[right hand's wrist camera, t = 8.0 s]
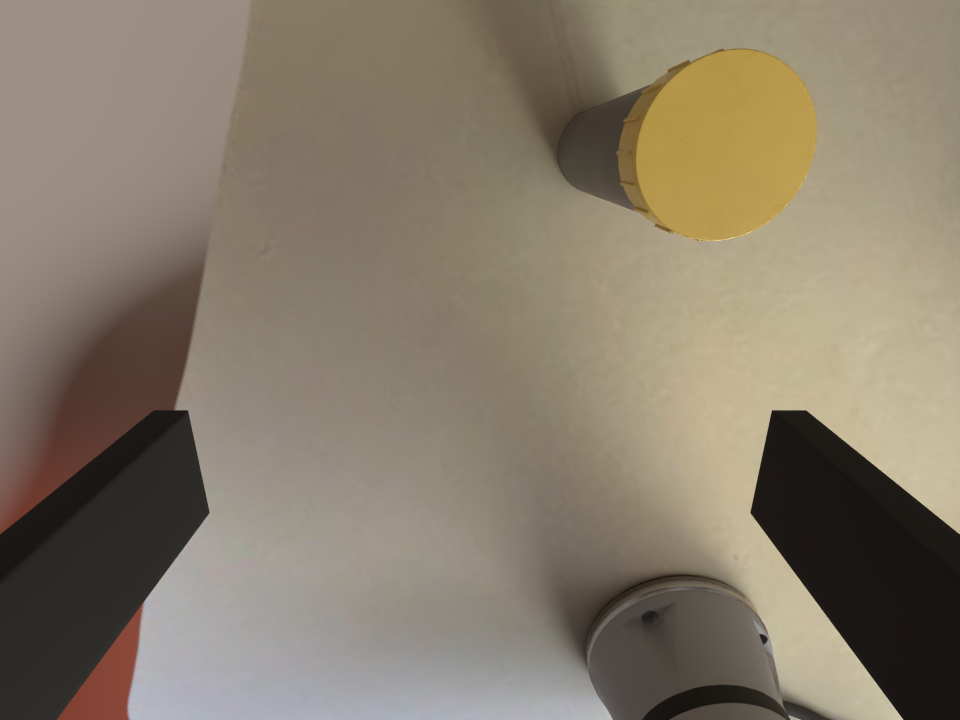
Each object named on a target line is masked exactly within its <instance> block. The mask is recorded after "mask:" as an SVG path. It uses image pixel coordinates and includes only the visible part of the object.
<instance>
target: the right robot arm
mask: <svg viewBox="0 0 960 720" xmlns="http://www.w3.org/2000/svg"><path fill="white" fill-rule="evenodd" d="M208 514H209V508H208V503H207V499H206V494H205V489H204V484H203V480H202V475H201V470H200V465H199V461H198V456H197V451H196V446H195V442H194V437H193V432H192V427H191V423H190V418H189V413H188V410H172V411H171V410H170V411H168V410H166V411H164V410H163V411H161V410H160V411H159V410H158V411H157V410H156V411H153V412H151V413H150V414H149V415H148V416H146V417H145V418H144V419H143V420H142V421H140V422H139V423H138V424H137V425H135V426H134V427H133V428H132V429H130V430H129V431H128V432H127V433H126V434H124V435H123V436H122V437H120V438H119V439H118V440H117V441H116V442H114V443H113V444H112V445H111V446H109V447H108V448H107V449H106V450H104V451H103V452H102V453H101V454H99V455H98V456H97V457H96V458H94V459H93V460H92V461H91V462H90V463H88V464H87V465H86V466H85V467H83V468H82V469H81V470H80V471H78V472H77V473H76V474H75V475H73V476H72V477H71V478H70V479H68V480H67V481H66V482H65V483H64V484H62V485H61V486H60V487H59V488H57V489H56V490H55V491H54V492H52V493H51V494H50V495H49V496H47V497H46V498H45V499H44V500H42V501H41V502H40V503H39V504H38V505H36V506H35V507H34V508H33V509H31V510H30V511H29V512H28V513H26V514H25V515H24V516H23V517H21V518H20V519H19V520H18V521H16V522H15V523H14V524H13V525H12V526H10V527H9V528H8V529H7V530H5V531H4V532H3V533H2V534H0V720H57V718H58V717H59V716H60V714H61V713H62V712H63V710H64V709H65V708H66V706H67V705H68V703H69V702H70V701H71V699H72V698H73V697H74V695H75V694H76V693H77V691H78V690H79V689H80V687H81V686H82V685H83V683H84V682H85V680H86V679H87V678H88V676H89V675H90V674H91V672H92V671H93V670H94V668H95V667H96V666H97V664H98V663H99V662H100V660H101V659H102V657H103V656H104V655H105V653H106V652H107V651H108V649H109V648H110V647H111V645H112V644H113V643H114V641H115V640H116V639H117V637H118V636H119V634H120V633H121V632H122V630H123V629H124V628H125V626H126V625H127V624H128V622H129V621H130V620H131V618H132V617H133V616H134V614H135V613H136V612H137V610H138V609H139V607H140V606H141V605H142V603H143V602H144V601H145V599H146V598H147V597H148V595H149V594H150V593H151V591H152V590H153V589H154V587H155V586H156V585H157V583H158V582H159V580H160V579H161V578H162V576H163V575H164V574H165V572H166V571H167V570H168V568H169V567H170V566H171V564H172V563H173V562H174V560H175V559H176V557H177V556H178V555H179V553H180V552H181V551H182V549H183V548H184V547H185V545H186V544H187V543H188V541H189V540H190V539H191V537H192V536H193V534H194V533H195V532H196V530H197V529H198V528H199V526H200V525H201V524H202V522H203V521H204V520H205V518H206V517H207V516H208ZM751 514H752V516H753V517H754V518H755V520H756V521H757V522H758V524H759V525H760V526H761V528H762V529H763V530H764V532H765V533H766V534H767V536H768V537H769V539H770V540H771V541H772V543H773V544H774V545H775V547H776V548H777V549H778V551H779V552H780V553H781V555H782V556H783V557H784V559H785V560H786V562H787V563H788V564H789V566H790V567H791V568H792V570H793V571H794V572H795V574H796V575H797V576H798V578H799V579H800V580H801V582H802V583H803V585H804V586H805V587H806V589H807V590H808V591H809V593H810V594H811V595H812V597H813V598H814V599H815V601H816V602H817V603H818V605H819V606H820V607H821V609H822V610H823V612H824V613H825V614H826V616H827V617H828V618H829V620H830V621H831V622H832V624H833V625H834V626H835V628H836V629H837V630H838V632H839V633H840V635H841V636H842V637H843V639H844V640H845V641H846V643H847V644H848V645H849V647H850V648H851V649H852V651H853V652H854V653H855V655H856V656H857V658H858V659H859V660H860V662H861V663H862V664H863V666H864V667H865V668H866V670H867V671H868V672H869V674H870V675H871V676H872V678H873V679H874V681H875V682H876V683H877V685H878V686H879V687H880V689H881V690H882V691H883V693H884V694H885V695H886V697H887V698H888V699H889V701H890V702H891V703H892V705H893V706H894V708H895V709H896V710H897V712H898V713H899V714H900V716H901V717H902V718H903V720H960V534H958V533H957V532H956V531H955V530H953V529H952V528H951V527H950V526H948V525H947V524H946V523H945V522H944V521H942V520H941V519H940V518H939V517H937V516H936V515H935V514H934V513H932V512H931V511H930V510H929V509H927V508H926V507H925V506H924V505H922V504H921V503H920V502H919V501H918V500H916V499H915V498H914V497H913V496H911V495H910V494H909V493H908V492H906V491H905V490H904V489H903V488H901V487H900V486H899V485H898V484H896V483H895V482H894V481H893V480H892V479H890V478H889V477H888V476H887V475H885V474H884V473H883V472H882V471H880V470H879V469H878V468H877V467H875V466H874V465H873V464H872V463H870V462H869V461H868V460H867V459H866V458H864V457H863V456H862V455H861V454H859V453H858V452H857V451H856V450H854V449H853V448H852V447H851V446H849V445H848V444H847V443H846V442H844V441H843V440H842V439H841V438H840V437H838V436H837V435H836V434H835V433H833V432H832V431H831V430H830V429H828V428H827V427H826V426H825V425H823V424H822V423H821V422H820V421H818V420H817V419H816V418H815V417H814V416H812V415H811V414H810V413H809V412H807V411H806V410H772V413H771V418H770V423H769V427H768V432H767V437H766V442H765V446H764V451H763V456H762V461H761V465H760V470H759V475H758V480H757V484H756V489H755V494H754V499H753V503H752V508H751ZM586 659H587V664H588V669H589V674H590V678H591V681H592V684H593V686H594V688H595V690H596V693H597V694H598V696H599V698H600V699H601V701H602V702H603V703H604V705H605V706H606V708H607V709H608V711H609V713H610V715H611V717H612V718H613V720H790V718H789V717H788V715H790V716H793V717H796V718H798V719H801V720H827V719H825V718H823V717H821V716H819V715H817V714H815V713H813V712H811V711H809V710H807V709H804V708H802V707H800V706H797V705H794V704H791V703H788V702H784V701H782V698H781V692H780V687H779V682H778V676H777V671H776V666H775V662H774V658H773V651H772V646H771V642H770V638H769V636H768V632H767V630H766V628H765V625H764V624H763V622H762V620H761V619H760V617H759V615H758V614H757V612H756V610H755V609H754V607H753V606H752V604H751V603H750V602H749V601H748V600H747V599H746V598H745V597H744V596H743V595H742V594H741V593H739V592H738V591H736V590H735V589H733V588H732V587H730V586H728V585H725V584H723V583H721V582H718V581H715V580H711V579H707V578H701V577H693V576H676V577H667V578H661V579H657V580H653V581H649V582H646V583H643V584H641V585H638V586H636V587H634V588H632V589H630V590H628V591H626V592H624V593H623V594H621V595H620V596H618V597H617V598H615V599H614V600H613V601H612V602H610V603H609V604H608V605H607V606H606V607H605V608H604V609H603V610H602V611H601V613H600V614H599V615H598V616H597V618H596V619H595V621H594V622H593V624H592V626H591V628H590V631H589V634H588V637H587V641H586Z"/></svg>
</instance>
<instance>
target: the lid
mask: <svg viewBox="0 0 960 720" xmlns="http://www.w3.org/2000/svg"><path fill="white" fill-rule="evenodd" d="M641 93H642V95H641V96H640V98H639V99H638V100H637V102H636V103H635V104H634V106H633V108H632V110H631V111H630V113H629V115H628V117H627V118H626V119H624V121H623V122H625V124H624V127H623V130H622V133H621V137H620V143H619V151H616V155H618V165H619V173H620V178H621V181H622V182H620V185H621V186H623V187H624V190H625V192H626V194H627V196H628V198H629V200H630V201H631V203H632V204H633V205H634V208H633V209H634V210H635V211H637V212H640V213H641V214H642V215H643V216H644V217H646V218H647V219H648V220H650V221H651V222H653V223H655V224H656V225H655V227H657V228H659V229H662V230H664V231H666V232H669V233H671V234H673V232H676V233H678V234H681V235H683V236H686V237H689V238H692V239H695V240H697V241H702V240H704V241H721V240H727V239H732V238H736V237H740V236H743V235H745V234H748V233H750V232H752V231H754V230H756V229H758V228H760V227H761V226H763V225H765V224H766V223H767V222H769V221H770V220H772V219H773V218H774V217H775V216H776V215H778V214H779V213H780V212H781V211H782V210H783V209H784V208H785V207H786V206H787V205H788V204H789V202H790V201H791V200H792V199H793V197H794V196H795V195H796V193H797V192H798V190H799V189H800V187H801V185H802V184H803V182H804V180H805V178H806V176H807V173H808V171H809V169H810V166H811V163H812V160H813V156H814V152H815V147H816V139H817V122H816V114H815V109H814V105H813V102H812V99H811V96H810V94H809V92H808V90H807V88H806V86H805V84H804V83H803V81H802V80H801V79H800V77H799V76H798V75H797V73H796V72H795V71H793V70H792V69H791V68H790V67H789V66H788V65H787V64H785V63H784V62H783V61H781V60H780V59H778V58H776V57H774V56H772V55H770V54H767V53H764V52H761V51H757V50H750V49H729V50H724V49H720V50H717V51H715V52H713V53H711V54H708V55H706V56H703V57H701V58H699V59H696V60H694V61H692V62H689V60H687V61H685V62H683V63H681V64H678V65H676V66H674V67H672V68H670V69H668V73H666V74H665V75H663V76H662V77H660V78H659V79H658V80H656V81H655V82H654V83H653V84H652V85H650V86H649V87H648V88H646V89H643V90H642V92H641Z"/></svg>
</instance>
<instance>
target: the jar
mask: <svg viewBox="0 0 960 720" xmlns="http://www.w3.org/2000/svg"><path fill="white" fill-rule="evenodd" d="M651 85H652V84H651ZM649 86H650V85H648V86H646V87H644V88H641V89H639V90H636V91H634V92H631V93H629V94H626V95H624V96H621V97H619V98H616V99H614V100H611V101H609V102H606V103H604V104H601V105H599V106H596V107H594V108H591V109H589V110H586V111H584V112H582V113H580V114H579V115H577V116H576V117H575V118H574V119H573V120H572V121H571V122H570V123H569V124H568V125H567V127H566V128H565V130H564V132H563V133H562V136H561V138H560V142H559V147H558V161H559V165H560V168H561V171H562V173H563V175H564V177H565V178H566V179H567V181H568V182H569V183H570V184H571V185H573V186H574V187H575V188H577V189H579V190H581V191H583V192H586V193H588V194H591V195H594V196H596V197H599V198H602V199H604V200H607V201H610V202H612V203H615V204H618V205H620V206H623V207H626V208H628V209H631V210H633V211H635V210H634V209H633V208H634V205H633V204H632V203H631V201H630V200H629V198H628V196H627V194H626V192H625V190H624V187H623V186H621V185H620V182H622V181H621V178H620V173H619V165H618V155H616V151H619V143H620V137H621V133H622V130H623V127H624V124H625V122H623V121H624V119H626V118H627V117H628V115H629V113H630V111H631V110H632V108H633V106H634V104H635V103H636V102H637V100H638V99H639V98H640V96H641V95H642V93H641V92H642V90H643V89H646V88H648V87H649ZM636 212H637V211H636ZM639 213H640V212H639Z"/></svg>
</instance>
